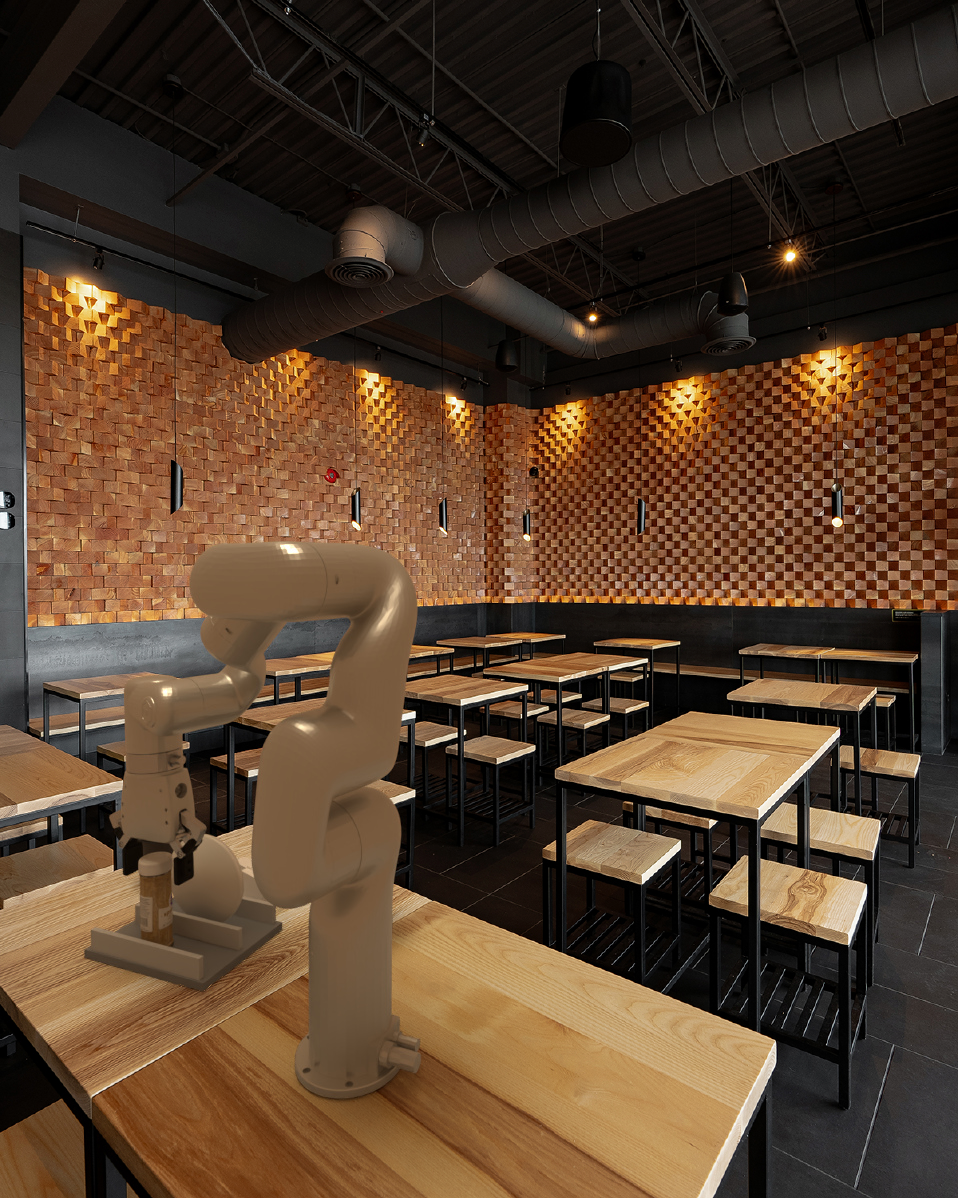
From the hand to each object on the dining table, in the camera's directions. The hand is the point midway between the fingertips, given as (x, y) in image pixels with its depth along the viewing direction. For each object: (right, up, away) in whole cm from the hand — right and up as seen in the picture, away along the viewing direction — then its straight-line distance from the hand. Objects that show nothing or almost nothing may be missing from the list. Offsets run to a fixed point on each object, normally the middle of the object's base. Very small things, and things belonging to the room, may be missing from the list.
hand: (158, 876), depth 99 cm
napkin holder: (+8, -12, +19) cm, 24 cm away
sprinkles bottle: (-1, -11, +1) cm, 11 cm away
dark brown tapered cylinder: (-10, -11, +24) cm, 28 cm away
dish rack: (+3, -12, +4) cm, 13 cm away
